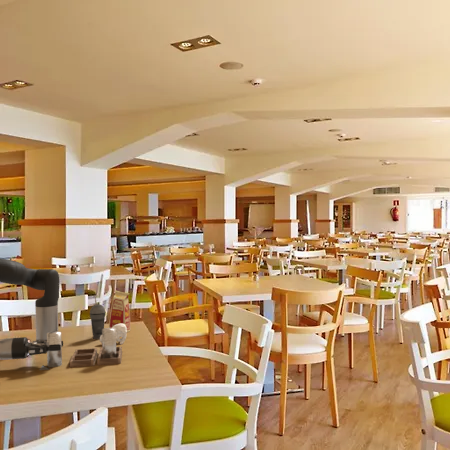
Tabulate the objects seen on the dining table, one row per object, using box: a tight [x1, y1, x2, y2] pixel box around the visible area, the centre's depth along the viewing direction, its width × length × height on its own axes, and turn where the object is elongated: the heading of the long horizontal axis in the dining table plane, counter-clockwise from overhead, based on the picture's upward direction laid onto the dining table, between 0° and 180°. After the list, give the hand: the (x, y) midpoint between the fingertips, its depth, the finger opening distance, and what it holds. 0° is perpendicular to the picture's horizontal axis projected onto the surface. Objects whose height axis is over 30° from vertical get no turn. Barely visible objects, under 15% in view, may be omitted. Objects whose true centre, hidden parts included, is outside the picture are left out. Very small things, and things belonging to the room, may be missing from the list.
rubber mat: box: [39, 364, 50, 371], centre depth 178 cm, size 9×9×1 cm
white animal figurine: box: [99, 323, 128, 345], centre depth 213 cm, size 6×8×12 cm
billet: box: [101, 327, 117, 359], centre depth 181 cm, size 5×5×12 cm
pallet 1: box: [69, 347, 99, 368], centre depth 184 cm, size 18×9×3 cm, turn 10°
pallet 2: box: [96, 346, 123, 366], centre depth 186 cm, size 18×9×3 cm, turn 10°
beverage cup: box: [89, 294, 106, 340], centre depth 224 cm, size 7×7×20 cm
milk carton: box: [108, 290, 131, 333], centre depth 238 cm, size 9×9×20 cm
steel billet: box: [46, 330, 63, 368], centre depth 178 cm, size 5×5×12 cm
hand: (61, 345), depth 178 cm, fingers closed on steel billet, 5 cm apart
